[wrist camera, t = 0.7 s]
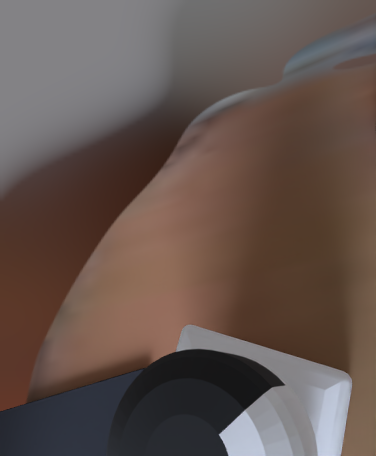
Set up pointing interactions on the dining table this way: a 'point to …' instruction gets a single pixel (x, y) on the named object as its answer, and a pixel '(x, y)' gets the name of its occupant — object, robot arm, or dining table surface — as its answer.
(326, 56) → the dining table surface
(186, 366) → the medicine bottle
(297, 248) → the dining table surface
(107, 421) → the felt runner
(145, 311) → the dining table surface
